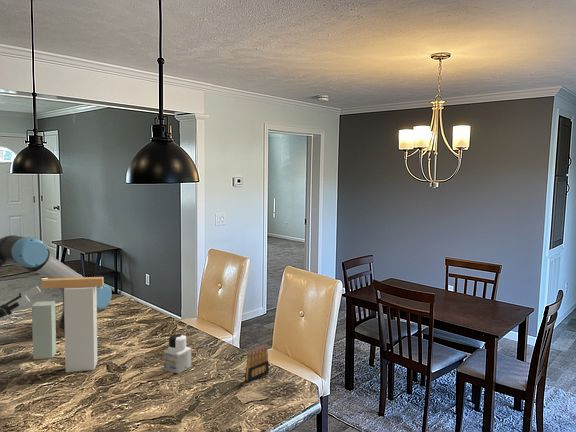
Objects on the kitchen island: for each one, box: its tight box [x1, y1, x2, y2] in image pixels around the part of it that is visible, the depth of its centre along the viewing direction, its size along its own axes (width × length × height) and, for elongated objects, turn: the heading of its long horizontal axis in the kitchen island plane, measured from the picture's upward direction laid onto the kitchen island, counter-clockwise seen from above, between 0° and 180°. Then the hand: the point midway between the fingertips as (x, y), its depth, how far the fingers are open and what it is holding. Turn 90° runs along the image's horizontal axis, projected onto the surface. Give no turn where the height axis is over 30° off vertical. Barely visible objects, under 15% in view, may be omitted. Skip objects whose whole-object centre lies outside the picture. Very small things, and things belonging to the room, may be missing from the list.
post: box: [64, 287, 98, 373], centre depth 168 cm, size 8×10×32 cm
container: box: [163, 333, 192, 375], centre depth 170 cm, size 8×8×13 cm
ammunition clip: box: [244, 343, 270, 383], centre depth 164 cm, size 11×2×12 cm, turn 138°
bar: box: [41, 276, 105, 290], centre depth 166 cm, size 3×21×3 cm, turn 105°
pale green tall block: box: [31, 300, 57, 360], centre depth 177 cm, size 6×7×22 cm
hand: (33, 293), depth 162 cm, fingers open, 13 cm apart
